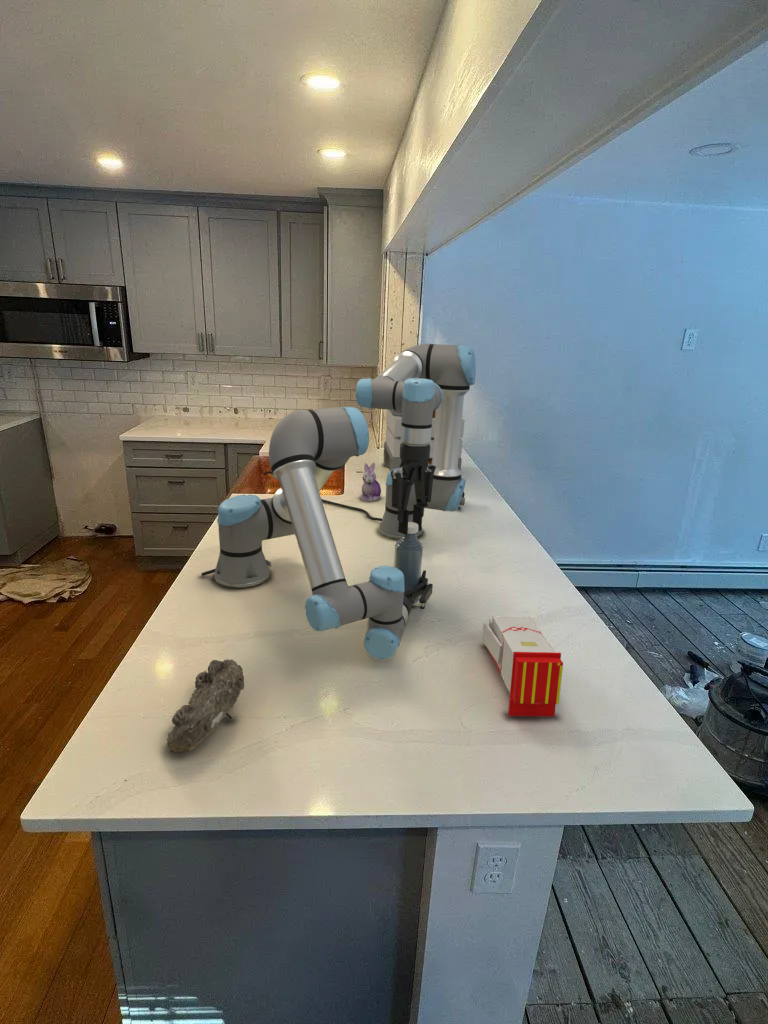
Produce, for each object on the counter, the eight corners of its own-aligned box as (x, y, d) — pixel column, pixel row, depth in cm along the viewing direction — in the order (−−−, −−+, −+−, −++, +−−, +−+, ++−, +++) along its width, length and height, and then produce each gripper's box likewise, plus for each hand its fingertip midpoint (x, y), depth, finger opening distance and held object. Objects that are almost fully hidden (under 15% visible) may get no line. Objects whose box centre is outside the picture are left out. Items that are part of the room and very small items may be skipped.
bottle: (421, 596, 157) (426, 524, 150) (416, 608, 150) (421, 534, 143) (395, 592, 159) (399, 521, 152) (389, 604, 152) (393, 530, 145)
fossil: (192, 660, 117) (244, 628, 112) (224, 691, 120) (276, 661, 115) (142, 746, 98) (202, 712, 93) (182, 779, 101) (242, 748, 96)
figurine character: (465, 514, 225) (460, 498, 239) (467, 497, 222) (461, 482, 235) (448, 514, 225) (444, 498, 239) (450, 496, 222) (445, 481, 235)
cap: (416, 527, 150) (416, 521, 150) (419, 533, 146) (420, 527, 146) (400, 527, 149) (400, 521, 149) (403, 534, 145) (403, 527, 145)
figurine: (365, 503, 229) (367, 467, 224) (355, 495, 237) (356, 461, 232) (386, 500, 233) (388, 465, 228) (375, 493, 242) (376, 459, 237)
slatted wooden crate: (382, 463, 289) (386, 382, 275) (445, 464, 293) (451, 384, 279) (390, 482, 257) (394, 392, 243) (460, 483, 261) (468, 394, 247)
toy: (528, 601, 136) (572, 659, 107) (523, 653, 139) (565, 722, 110) (478, 600, 136) (508, 657, 107) (474, 652, 139) (503, 722, 109)
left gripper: (352, 620, 139) (373, 580, 160) (434, 633, 135) (445, 590, 157) (353, 593, 137) (374, 555, 158) (436, 605, 133) (447, 565, 154)
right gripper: (429, 436, 148) (423, 520, 156) (378, 443, 137) (375, 533, 145) (450, 442, 142) (443, 528, 150) (399, 450, 132) (394, 542, 140)
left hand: (409, 572), depth 157 cm, fingers closed on bottle, 7 cm apart
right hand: (409, 530), depth 148 cm, fingers closed on cap, 4 cm apart
